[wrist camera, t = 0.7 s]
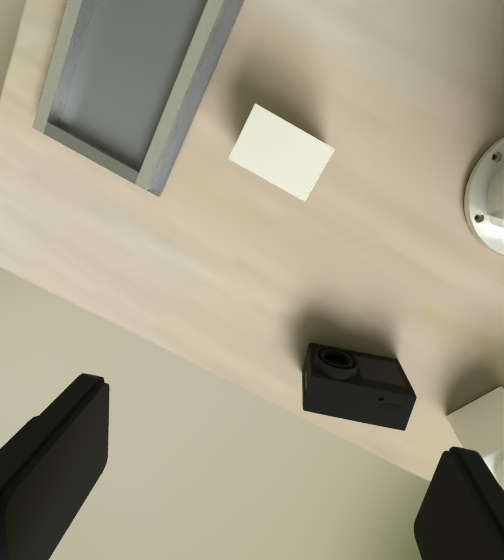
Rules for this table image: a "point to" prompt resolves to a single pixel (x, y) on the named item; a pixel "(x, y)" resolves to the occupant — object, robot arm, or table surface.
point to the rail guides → (193, 64)
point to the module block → (280, 152)
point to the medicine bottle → (483, 430)
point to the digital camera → (356, 387)
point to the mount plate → (138, 75)
